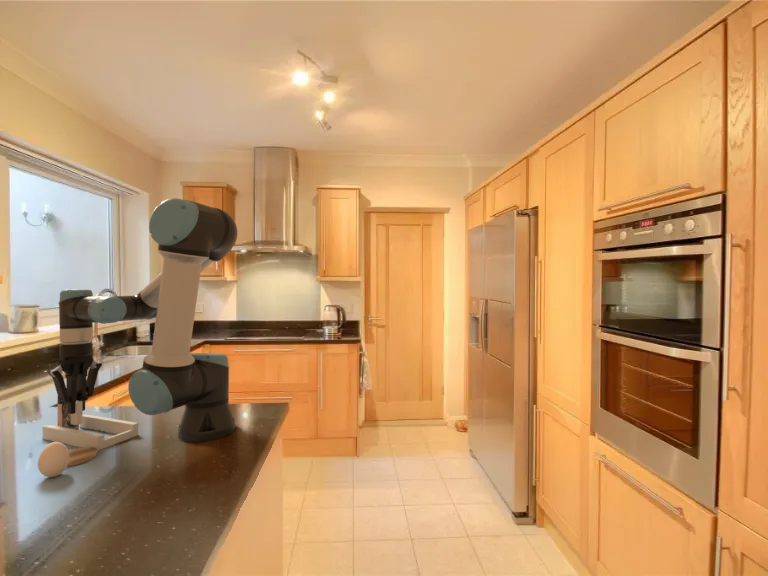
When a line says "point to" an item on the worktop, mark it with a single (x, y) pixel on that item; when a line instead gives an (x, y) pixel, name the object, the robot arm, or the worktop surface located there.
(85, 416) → the beige u-shaped bracket
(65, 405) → the beer can
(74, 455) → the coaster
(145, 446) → the worktop surface
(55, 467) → the egg
